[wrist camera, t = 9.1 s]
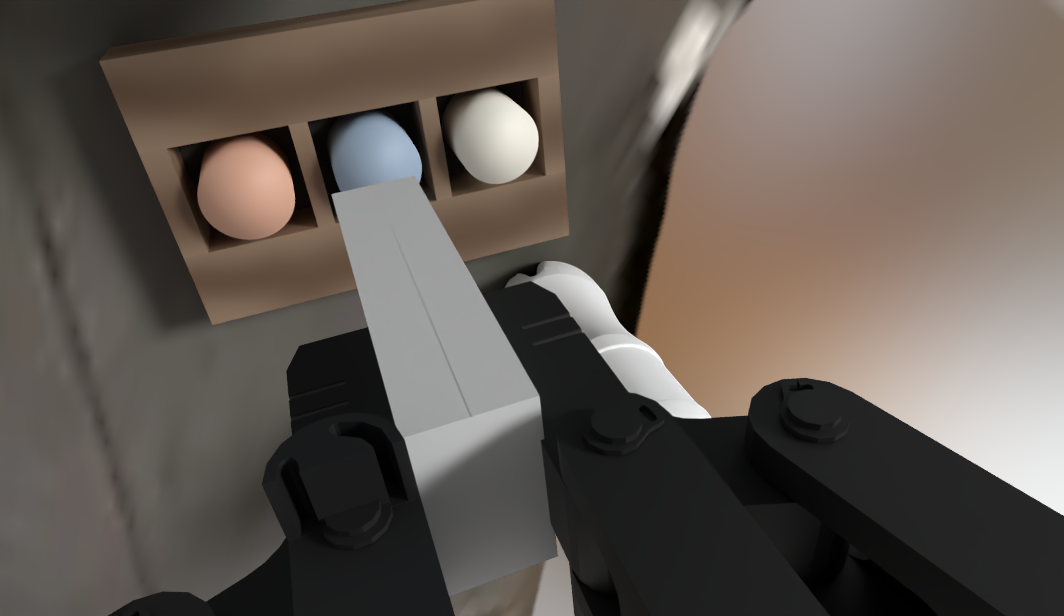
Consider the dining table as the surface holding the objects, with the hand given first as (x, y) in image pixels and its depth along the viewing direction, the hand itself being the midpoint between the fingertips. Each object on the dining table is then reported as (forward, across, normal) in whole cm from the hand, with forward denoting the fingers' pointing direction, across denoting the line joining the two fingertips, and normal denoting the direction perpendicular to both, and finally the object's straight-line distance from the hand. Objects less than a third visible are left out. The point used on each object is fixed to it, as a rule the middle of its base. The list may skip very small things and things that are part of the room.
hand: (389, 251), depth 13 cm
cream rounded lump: (+26, +8, -7) cm, 28 cm away
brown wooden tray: (+26, +2, -7) cm, 27 cm away
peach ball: (+26, -5, -7) cm, 28 cm away
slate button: (+26, +2, -7) cm, 27 cm away
